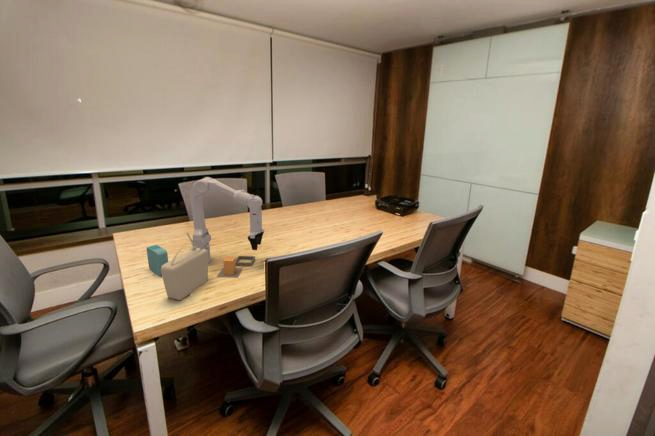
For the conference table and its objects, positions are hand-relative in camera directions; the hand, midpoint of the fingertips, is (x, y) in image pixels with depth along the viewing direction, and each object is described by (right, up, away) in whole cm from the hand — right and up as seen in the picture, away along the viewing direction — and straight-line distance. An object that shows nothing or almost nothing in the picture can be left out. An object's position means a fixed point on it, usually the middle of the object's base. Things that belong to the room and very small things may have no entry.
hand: (256, 247), depth 162 cm
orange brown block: (-11, -11, -8) cm, 18 cm away
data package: (-45, -11, -7) cm, 47 cm away
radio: (-25, -16, -23) cm, 37 cm away
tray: (-7, -9, +4) cm, 12 cm away
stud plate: (-11, -12, -7) cm, 18 cm away
